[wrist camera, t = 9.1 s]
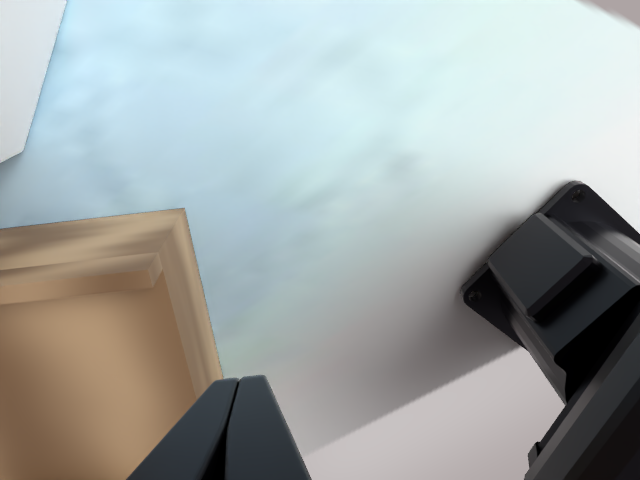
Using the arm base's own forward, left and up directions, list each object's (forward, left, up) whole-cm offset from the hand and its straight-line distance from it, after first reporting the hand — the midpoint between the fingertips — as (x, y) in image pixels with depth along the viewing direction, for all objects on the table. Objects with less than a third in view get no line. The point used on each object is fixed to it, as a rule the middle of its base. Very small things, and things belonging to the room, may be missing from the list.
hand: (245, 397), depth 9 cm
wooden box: (+3, +11, -12) cm, 17 cm away
